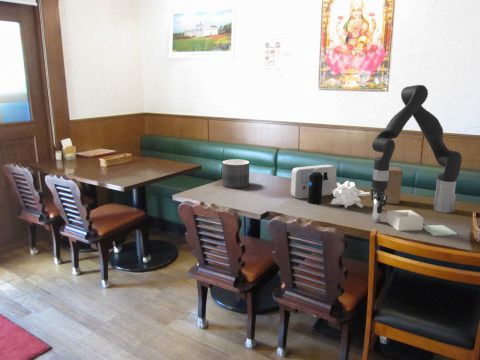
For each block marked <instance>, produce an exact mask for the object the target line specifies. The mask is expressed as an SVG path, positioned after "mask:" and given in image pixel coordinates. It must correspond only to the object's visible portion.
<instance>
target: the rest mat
mask: <svg viewBox="0 0 480 360" xmlns="http://www.w3.org/2000/svg"><path fill="white" fill-rule="evenodd" d="M422 230H424V231H426V232H428V233H429V234H431V235H432V236H433V237H436V236H438V237H439V236H442V237H443V236H444V237H445V236H457V234H458V233H457V232H455V231H454V230H452V229H451V228H449V227H447V226H446V225H443V224H436V225H435V224H433V225H431V224H430V225H429V224H427V225H423V227H422Z"/></svg>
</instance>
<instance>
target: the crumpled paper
mask: <svg viewBox="0 0 480 360" xmlns="http://www.w3.org/2000/svg"><path fill="white" fill-rule="evenodd" d="M335 185H336V186H337V187H335V189H333V190H332V193H333V194H332V195H333V197H334V198H332V200H331V202H330V205H341V206H344V208H346V209H347V208H348V207H349V206H353V205H354V204H355V205H357V206H358V207H359V208H361V209H362V208H363V207H364V205H363V204H362V200H361V198H360V197H364V196H365V197H366V196H371V191H367V192H366V191H363V190H362V189H358V188H357V187H356V184H355V182H354V181H350V180H346V181H344V183H342V184H341V183H340V182H337V181H336V184H335Z"/></svg>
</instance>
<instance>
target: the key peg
mask: <svg viewBox="0 0 480 360" xmlns="http://www.w3.org/2000/svg"><path fill="white" fill-rule="evenodd" d="M376 198H377V196H376V194H374V206H373V205H372V217H371V218H372V219H371V222H372V223H376V224H380V223H381V220H382V213H380V214H378V213H377V206H378V205H377V201H376ZM379 200H381V199H379ZM379 203H380V202H379Z"/></svg>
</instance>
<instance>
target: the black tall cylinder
mask: <svg viewBox="0 0 480 360" xmlns="http://www.w3.org/2000/svg"><path fill="white" fill-rule="evenodd" d="M322 184H323V175H322V174H321V173H319V172H318V168H315V172H313V173H311V174H310V175H309V190H308V198H307V203H308V204H310V205H320V204H322V203H323V201H322V200H323V199H322V197H323V196H322Z"/></svg>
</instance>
